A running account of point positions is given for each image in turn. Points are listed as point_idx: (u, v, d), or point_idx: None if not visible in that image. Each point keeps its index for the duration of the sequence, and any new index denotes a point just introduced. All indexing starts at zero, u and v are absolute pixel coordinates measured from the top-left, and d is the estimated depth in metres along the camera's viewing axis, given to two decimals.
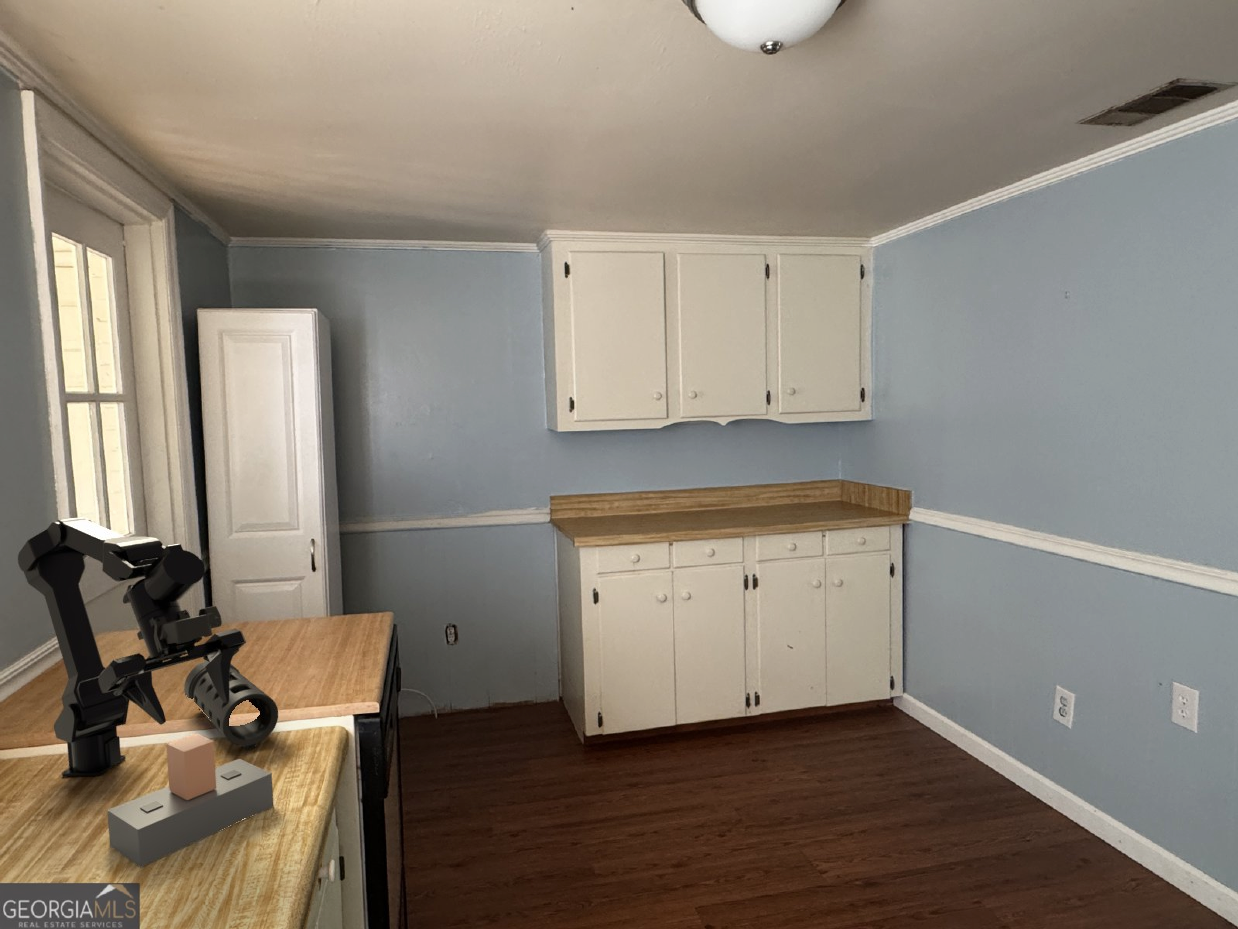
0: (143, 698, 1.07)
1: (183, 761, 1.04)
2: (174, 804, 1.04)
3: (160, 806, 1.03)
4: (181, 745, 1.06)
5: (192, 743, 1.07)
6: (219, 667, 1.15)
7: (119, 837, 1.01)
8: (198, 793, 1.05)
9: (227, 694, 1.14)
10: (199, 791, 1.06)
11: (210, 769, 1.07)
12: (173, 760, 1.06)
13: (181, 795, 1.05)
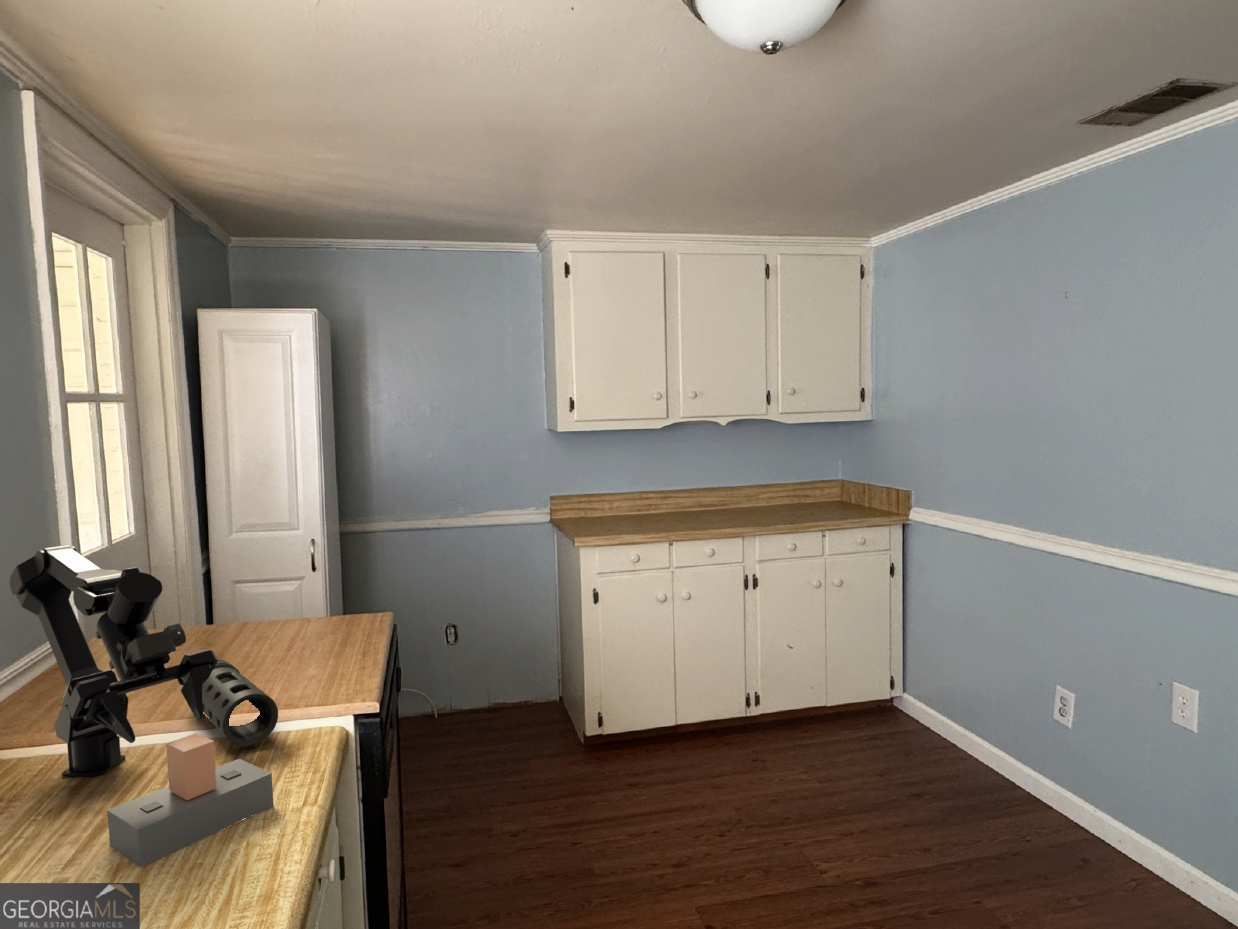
0: (112, 719, 1.07)
1: (183, 761, 1.04)
2: (174, 804, 1.04)
3: (160, 806, 1.03)
4: (181, 745, 1.06)
5: (192, 743, 1.07)
6: (191, 686, 1.16)
7: (119, 837, 1.01)
8: (198, 793, 1.05)
9: (200, 711, 1.14)
10: (199, 791, 1.06)
11: (210, 769, 1.07)
12: (173, 760, 1.06)
13: (181, 795, 1.05)
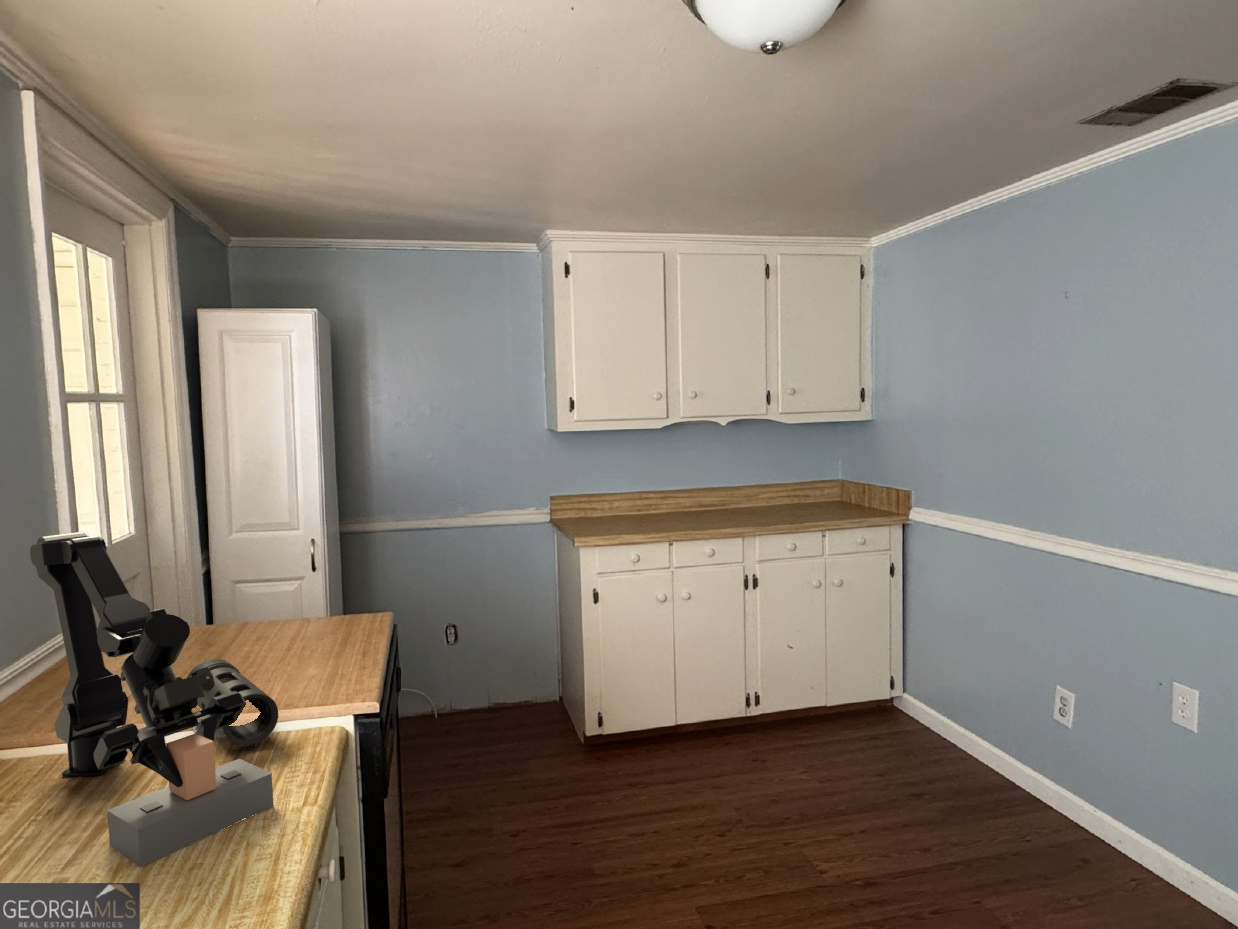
0: (159, 762, 1.05)
1: (183, 761, 1.04)
2: (174, 804, 1.04)
3: (160, 806, 1.03)
4: (181, 745, 1.06)
5: (192, 743, 1.07)
6: None
7: (119, 837, 1.01)
8: (198, 793, 1.05)
9: None
10: (199, 791, 1.06)
11: (210, 769, 1.07)
12: (173, 760, 1.06)
13: (181, 795, 1.05)
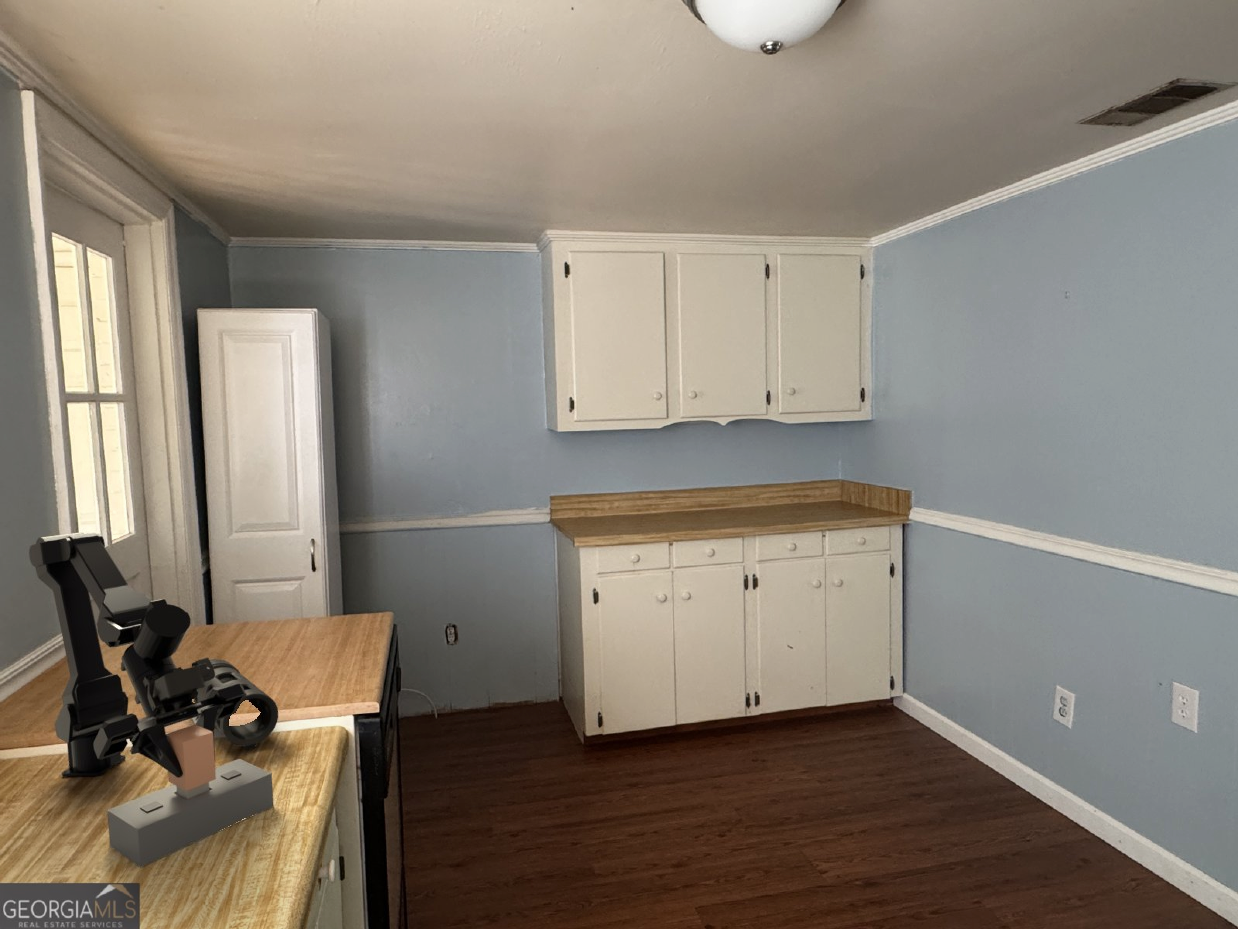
0: (159, 753, 1.05)
1: (182, 752, 1.04)
2: (174, 804, 1.04)
3: (160, 806, 1.03)
4: (180, 736, 1.06)
5: (192, 733, 1.06)
6: None
7: (119, 837, 1.01)
8: (197, 784, 1.05)
9: None
10: (198, 782, 1.05)
11: (209, 760, 1.07)
12: None
13: (180, 786, 1.05)
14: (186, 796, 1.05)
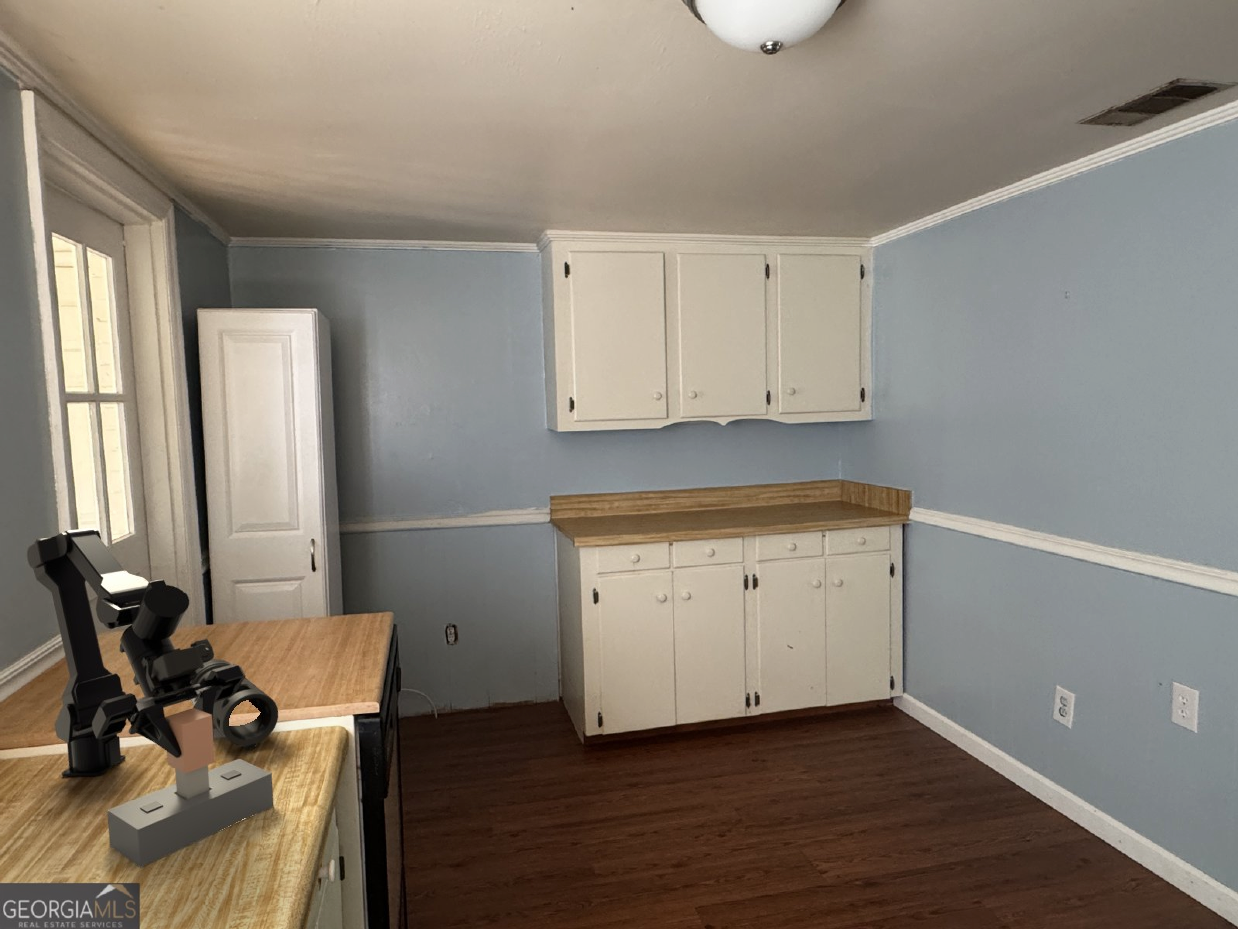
0: (157, 733, 1.05)
1: (181, 734, 1.04)
2: (174, 804, 1.04)
3: (160, 806, 1.03)
4: (179, 719, 1.06)
5: (190, 716, 1.06)
6: (201, 709, 1.09)
7: (119, 837, 1.01)
8: (196, 767, 1.05)
9: None
10: (197, 765, 1.05)
11: (208, 743, 1.06)
12: None
13: (179, 768, 1.05)
14: (185, 779, 1.05)
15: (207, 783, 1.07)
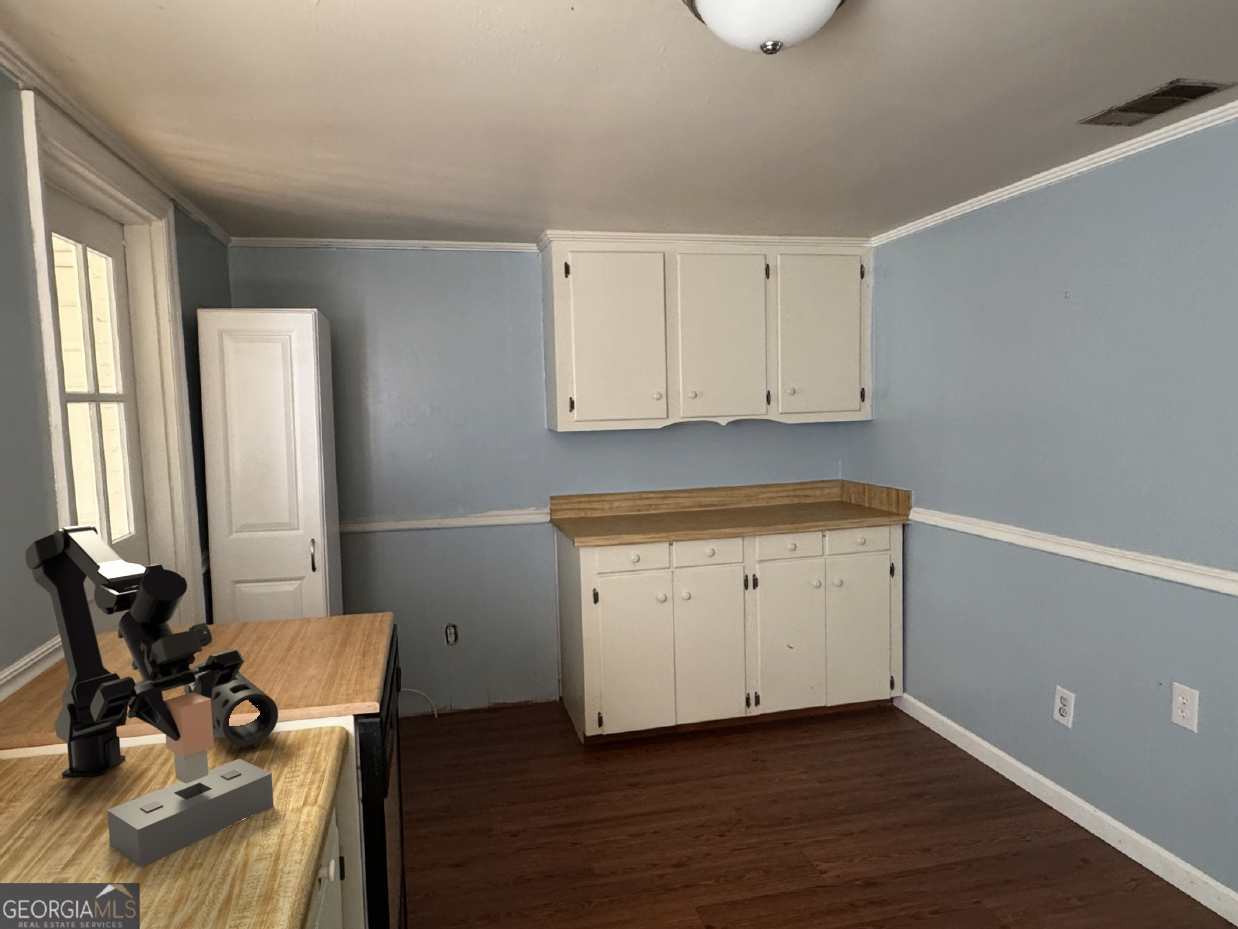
0: (156, 716, 1.05)
1: (180, 717, 1.04)
2: (174, 804, 1.04)
3: (160, 806, 1.03)
4: (178, 702, 1.05)
5: (189, 700, 1.06)
6: (200, 693, 1.09)
7: (119, 837, 1.01)
8: (195, 750, 1.05)
9: None
10: (196, 748, 1.05)
11: (207, 727, 1.06)
12: None
13: (178, 752, 1.05)
14: (184, 763, 1.05)
15: (206, 767, 1.07)
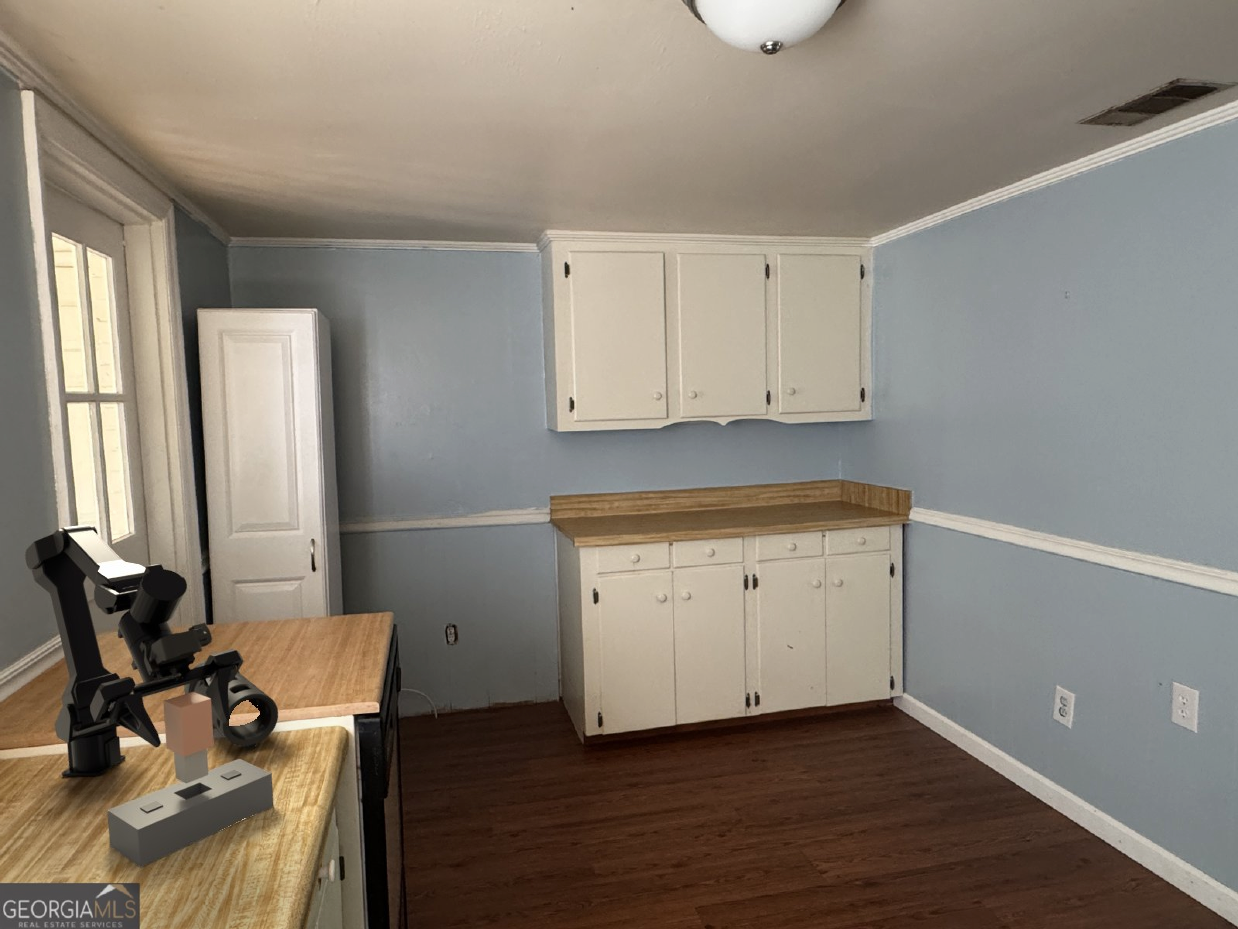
0: (136, 722, 1.03)
1: (180, 717, 1.04)
2: (174, 804, 1.04)
3: (160, 806, 1.03)
4: (178, 702, 1.05)
5: (189, 700, 1.06)
6: (217, 688, 1.11)
7: (119, 837, 1.01)
8: (195, 750, 1.05)
9: (227, 714, 1.10)
10: (196, 748, 1.05)
11: (207, 726, 1.06)
12: (170, 716, 1.05)
13: (178, 752, 1.05)
14: (184, 762, 1.05)
15: (206, 767, 1.07)
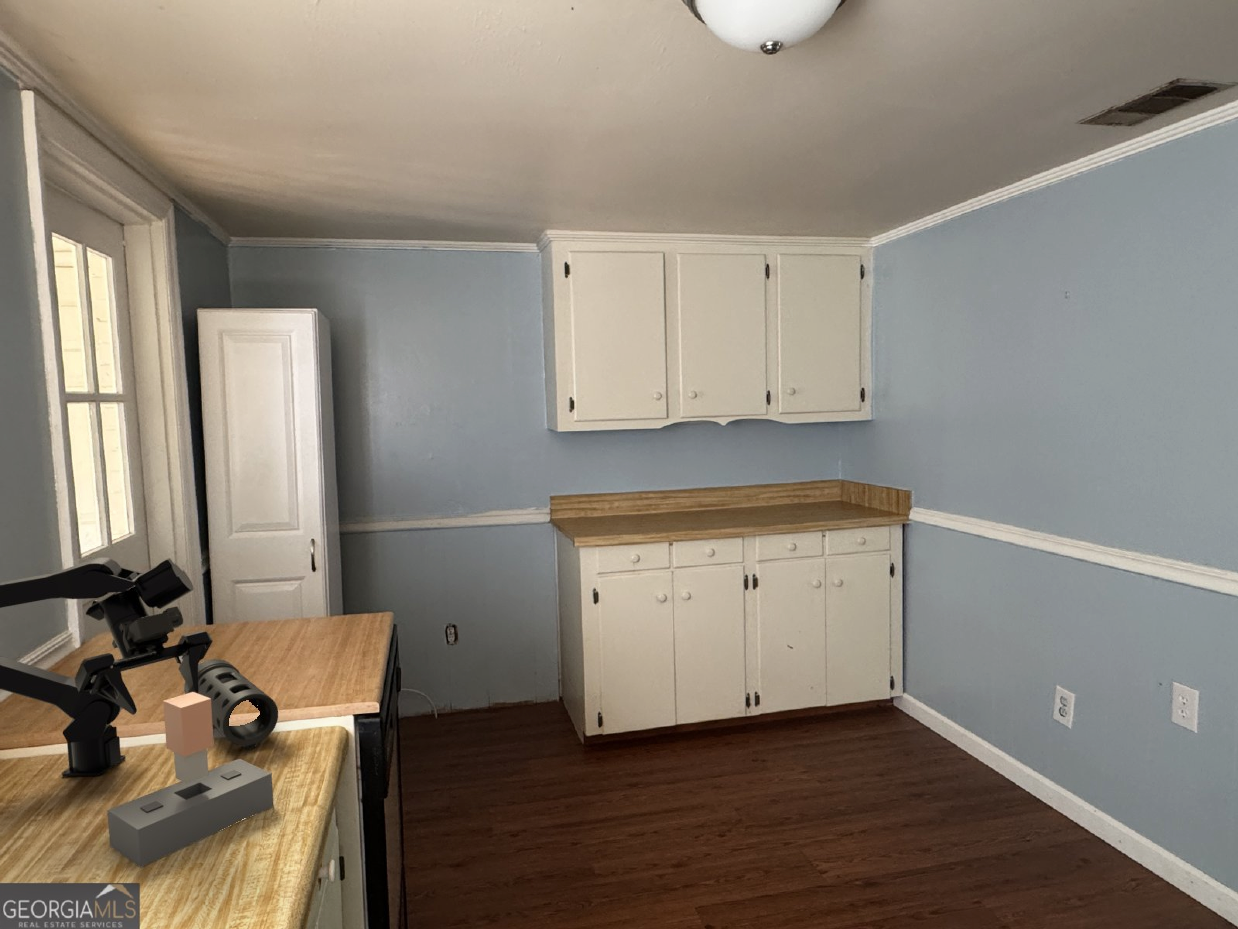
0: (115, 693, 1.17)
1: (180, 717, 1.04)
2: (174, 804, 1.04)
3: (160, 806, 1.03)
4: (178, 702, 1.05)
5: (189, 700, 1.06)
6: (188, 664, 1.26)
7: (119, 837, 1.01)
8: (195, 750, 1.05)
9: (196, 687, 1.24)
10: (196, 748, 1.05)
11: (207, 726, 1.06)
12: (170, 716, 1.05)
13: (178, 752, 1.05)
14: (184, 762, 1.05)
15: (206, 767, 1.07)
